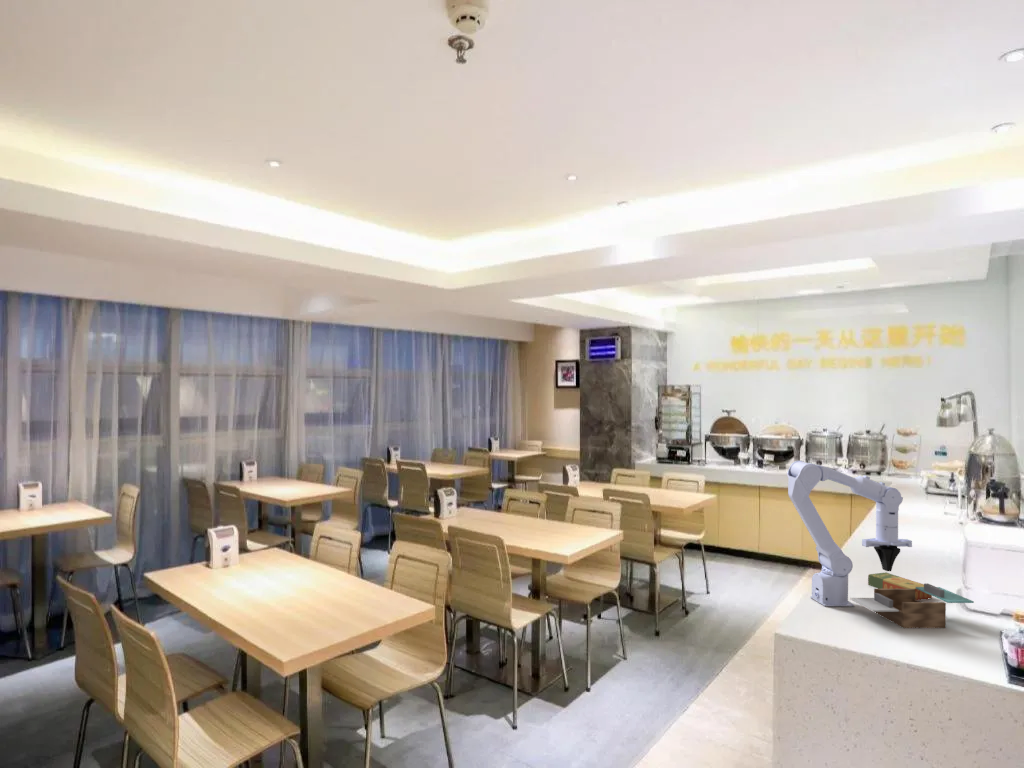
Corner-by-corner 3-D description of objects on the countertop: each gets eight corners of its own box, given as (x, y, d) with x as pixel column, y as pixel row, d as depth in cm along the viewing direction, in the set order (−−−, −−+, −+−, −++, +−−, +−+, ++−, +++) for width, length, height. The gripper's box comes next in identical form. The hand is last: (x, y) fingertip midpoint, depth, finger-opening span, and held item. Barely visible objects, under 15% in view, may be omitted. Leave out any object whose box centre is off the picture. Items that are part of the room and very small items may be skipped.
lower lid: (872, 611, 161) (872, 602, 161) (850, 599, 171) (850, 590, 171) (898, 611, 161) (898, 602, 161) (874, 599, 171) (874, 590, 171)
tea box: (903, 628, 160) (903, 603, 160) (873, 611, 172) (874, 588, 172) (945, 628, 161) (945, 603, 161) (913, 611, 173) (913, 588, 173)
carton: (912, 602, 182) (912, 588, 182) (867, 585, 198) (867, 573, 198) (932, 599, 185) (932, 586, 185) (886, 583, 200) (886, 571, 200)
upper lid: (948, 602, 161) (948, 594, 161) (915, 588, 173) (915, 580, 173) (973, 602, 162) (973, 594, 162) (939, 588, 173) (939, 580, 174)
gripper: (872, 528, 175) (872, 574, 174) (919, 528, 175) (919, 574, 175) (857, 523, 182) (857, 567, 181) (902, 523, 183) (902, 567, 182)
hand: (886, 570), depth 179 cm, fingers closed
